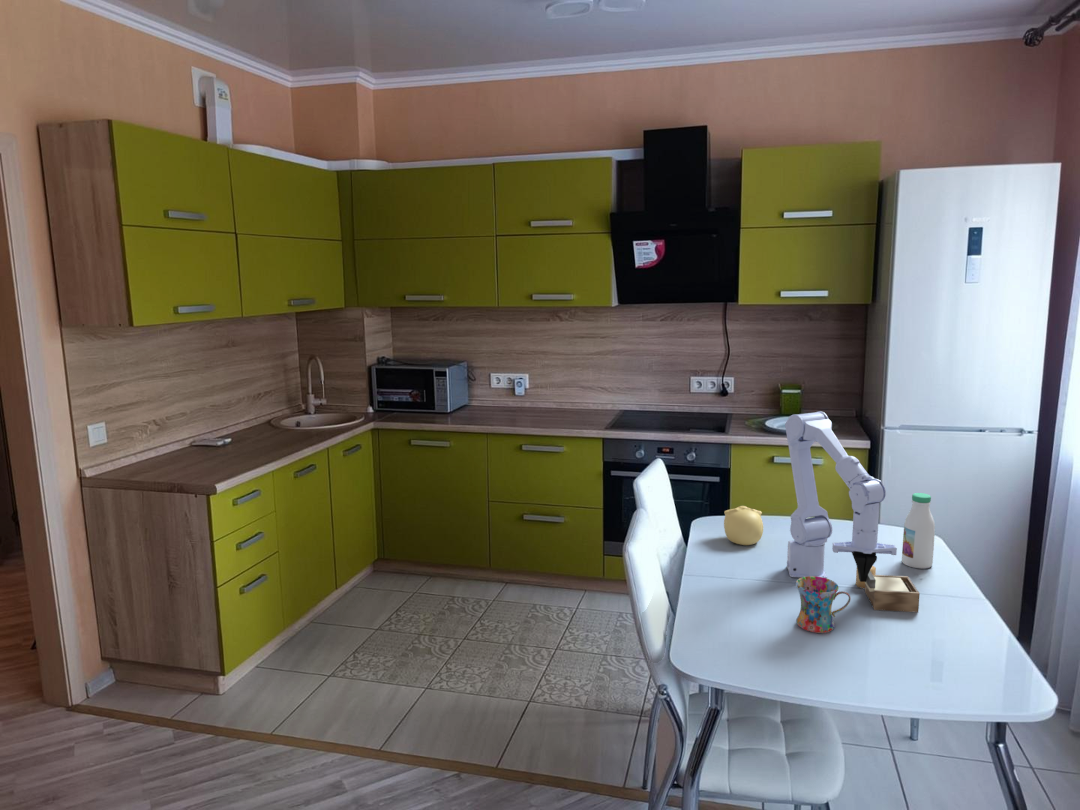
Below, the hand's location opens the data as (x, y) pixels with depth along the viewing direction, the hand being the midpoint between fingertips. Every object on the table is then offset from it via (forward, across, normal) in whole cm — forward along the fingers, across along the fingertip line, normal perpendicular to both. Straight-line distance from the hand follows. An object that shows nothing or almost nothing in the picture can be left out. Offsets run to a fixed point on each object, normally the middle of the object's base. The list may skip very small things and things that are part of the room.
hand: (862, 580), depth 191 cm
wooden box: (+5, +7, 0) cm, 9 cm away
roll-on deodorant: (+5, +3, +10) cm, 11 cm away
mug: (+6, -12, -16) cm, 21 cm away
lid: (+1, +5, 0) cm, 6 cm away
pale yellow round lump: (+6, -26, +38) cm, 47 cm away
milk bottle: (+6, +20, +26) cm, 33 cm away
